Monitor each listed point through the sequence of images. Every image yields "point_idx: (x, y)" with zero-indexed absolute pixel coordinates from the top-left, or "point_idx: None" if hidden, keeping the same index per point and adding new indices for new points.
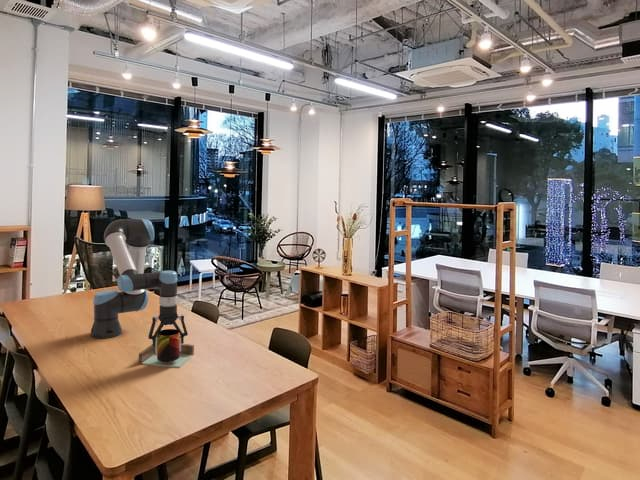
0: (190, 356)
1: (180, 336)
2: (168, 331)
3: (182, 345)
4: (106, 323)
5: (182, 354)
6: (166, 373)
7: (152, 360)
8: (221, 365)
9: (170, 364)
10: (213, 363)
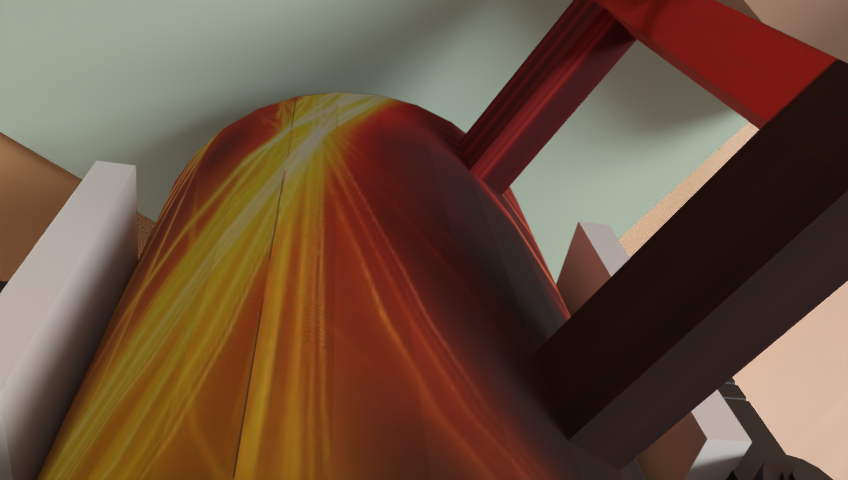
0: (712, 149)
1: (724, 475)
2: None
3: (752, 14)
4: None
5: None
6: None
7: (98, 43)
8: (834, 461)
9: None
10: (809, 400)
